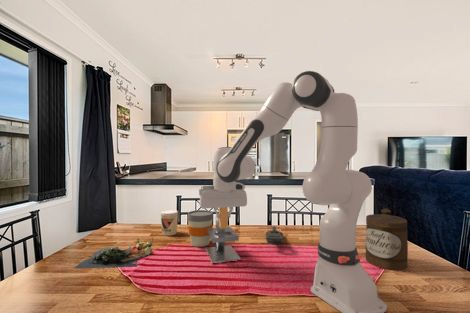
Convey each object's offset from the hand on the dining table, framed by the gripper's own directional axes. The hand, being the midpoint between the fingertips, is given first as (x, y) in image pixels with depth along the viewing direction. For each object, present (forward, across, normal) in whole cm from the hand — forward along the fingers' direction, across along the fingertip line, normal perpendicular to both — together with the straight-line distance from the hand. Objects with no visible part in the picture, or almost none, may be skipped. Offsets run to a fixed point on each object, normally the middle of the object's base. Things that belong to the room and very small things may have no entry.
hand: (223, 217), depth 110 cm
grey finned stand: (+17, 0, +2) cm, 17 cm away
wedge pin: (+4, 0, 0) cm, 4 cm away
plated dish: (+18, -41, +12) cm, 47 cm away
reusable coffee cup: (+17, -7, +19) cm, 27 cm away
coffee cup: (+18, -21, +39) cm, 48 cm away
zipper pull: (+17, +28, +10) cm, 35 cm away
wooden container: (+17, +63, -23) cm, 69 cm away
